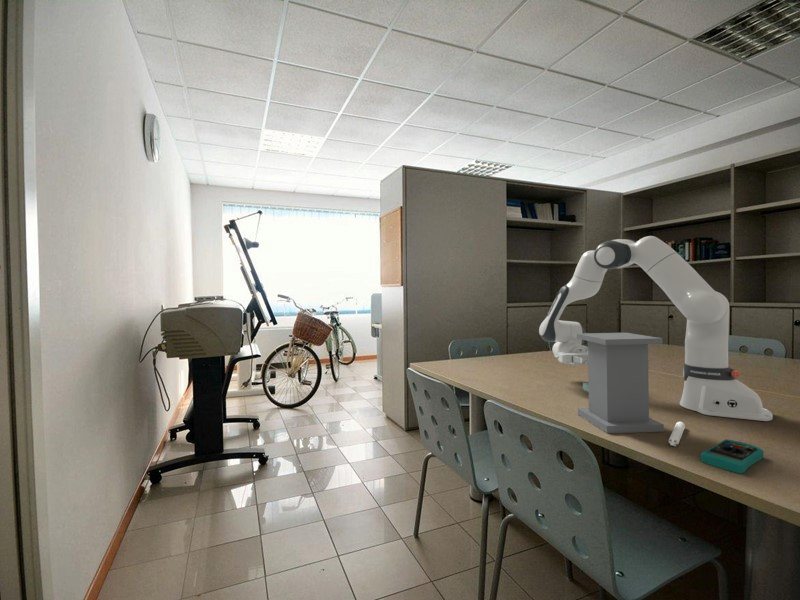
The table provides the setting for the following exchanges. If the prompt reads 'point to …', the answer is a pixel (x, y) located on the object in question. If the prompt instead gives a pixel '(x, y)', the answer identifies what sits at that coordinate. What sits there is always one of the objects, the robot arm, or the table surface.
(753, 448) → the digital multimeter
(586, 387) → the bar
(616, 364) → the stand
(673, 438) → the white rod
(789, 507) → the table surface
